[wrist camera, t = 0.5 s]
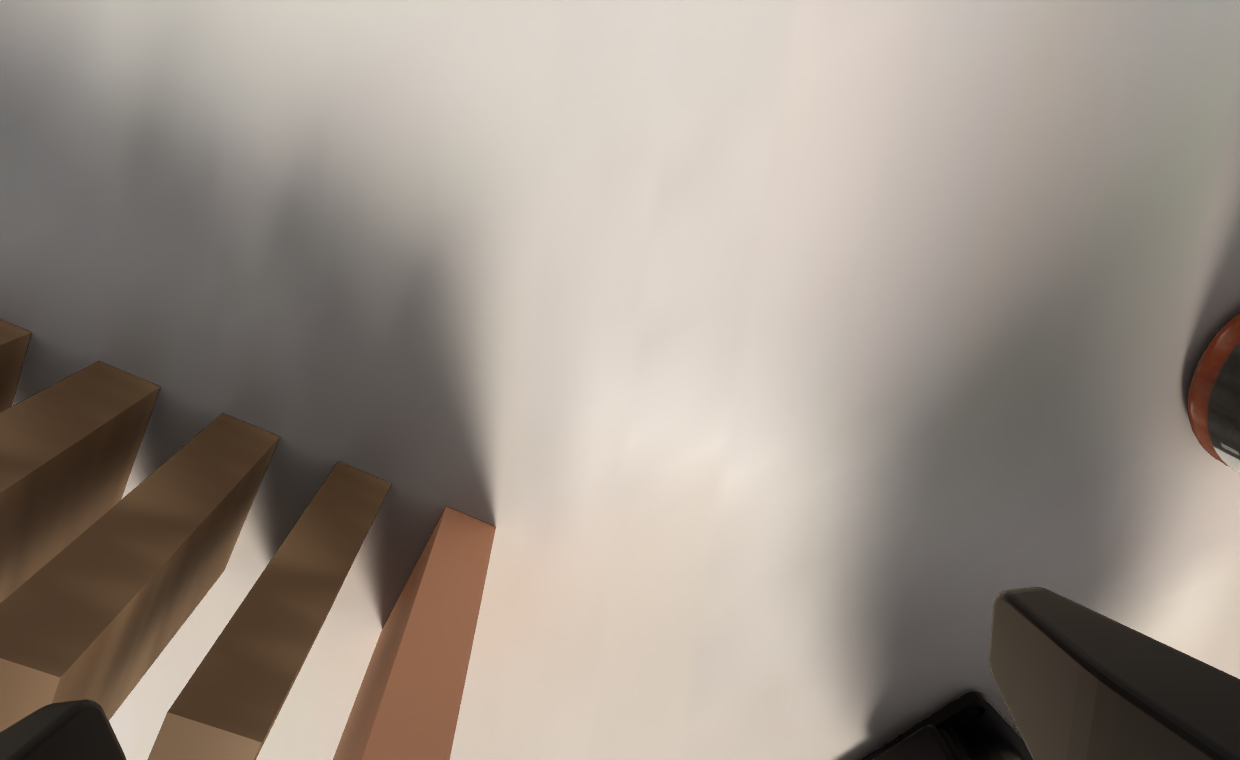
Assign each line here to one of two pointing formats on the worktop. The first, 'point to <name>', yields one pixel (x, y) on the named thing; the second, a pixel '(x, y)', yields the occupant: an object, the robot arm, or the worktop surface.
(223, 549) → the walnut domino
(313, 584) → the walnut domino
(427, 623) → the terracotta domino
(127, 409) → the walnut domino
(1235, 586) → the worktop surface
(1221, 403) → the supplement bottle
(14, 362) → the walnut domino
